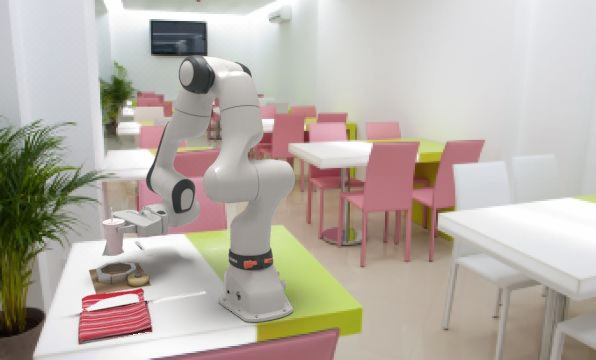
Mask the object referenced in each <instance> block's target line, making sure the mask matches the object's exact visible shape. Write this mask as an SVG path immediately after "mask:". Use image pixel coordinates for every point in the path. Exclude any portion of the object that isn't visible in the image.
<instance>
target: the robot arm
mask: <svg viewBox="0 0 596 360" xmlns="http://www.w3.org/2000/svg"><path fill="white" fill-rule="evenodd" d="M178 79H179V82H180V87H179V90H178V93H177V96H176V99H175V105H174V109H173V111H172V113H173V114H172V116H171V118H170V120H169V121H167V123H166V125H165V126H164V128H163V132H162V134H161V137H160V141H159V143H158V146H157V150H156V154H155V157H154V160H153V162H152V164H151V166H150V167H149V170H148V171H147V173H146V178H145V184H146V186H147V188H148V190H149V191H151V193H154V194H156V195H159V196H160V197H161V198H162V201H161V202H159V203H153V204H148V205H145V206H143V207H142V208H141V210H140V211H138V210H135V209H123V210H118V211H113V219H123V220H125V225H124V227H123V226H121V227H117V228H116V230H117V233H119V234H123V235H124V234H135V235H138V236H139V237H142V238H150V237H156V236H160V235H161V236H167V235H169V232H170V231H169V230H170V229H171V228H172V229H173V228H179V227H180V228H181V227H182V226H186V225H188V224H189V225H190V224H191V223H193V222H195V221H196V220H197V219H198V218H199V216H200V213H201V206H200V203H199V201H198V200H197V198H196V185H195V183H194V182H193V180H191V179H190V178H189V177H187V176H185V175H184V174H182V173H180V172H179V171H177V170H176V168H175V166H174V163H175V158H176V155H177V154H178V153H177V152H178V149H179V146H180V144H181V143H182V142H183V141H184V140H194V139H197V138H200V137H202V136H203V135H204V134H205V133H206V132H207V131H208V127H209V124H210V121H211V115H212V112H213V111H212V110H213V105H214V101H215V100H216V99H217V100H218V107H219V116H220V123H221V134H222V135H221V136H222V142H221V148H220V151H219V154H218V156H217V158H216V159H215V161H214V162H213V163H212V164H211V165H210V166H209V167H208V168H207V169H206V171H205V172H204V175H203V178H202V187H203V188H202V189H203V191H204V194H205V195H206V197H207V198H208V199H209V200H210V201H211V202H212V203H219V204H237V203H245V202H247V205H245V208H244V209H243V210H242V211H241V212H240V213H238V214H237V215H236V216H234V217H233V219H232V220H231V222H230V226H229V227H230V228H229V230H230V231H229V232H230V233H229V235H230V237H229V240H230V241H229V242H230V243H229V245H230V248H229V249H228V256H227V257H228V263H229V264H228V266H227V268H226V270H225V271H224V273H223V289H222V290H223V291H222V295H220V296H219V297H218V304H219V305H221V306H222V307H224V308H225V309H227V310H228V309H229V312H231V311H232V312H231V313H232V314H234V315H235V316H237V317H238V316H239V318H240V319H241V320H243V321H244V322H249V323H257V322H258V323H259V322H268V321H271V320H272V321H273V320H275V319H280V318H283V317H287V316H288V315H290V314H292V313H293V312H294V308H293V305H292V303H291V301H289V299H288V297H287V296H286V294H285V289H286V288H287V281H286V280H284V279H282V280H281V278H280V271H277V270H276V269H277V268H275V264H274V258H273V257H274V254H273V250H272V248H271V236H272V235H271V232H272V224H273V219H274V215H275V213H276V211H277V209H278V207H279V205H280V204H281V202H282V201H283V200H284V199H285V198H286V197H287V196H288V195H289V194H291V192H292V191H293V188H294V187H295V183H296V177H295V176H296V174H295V171H294V169H293V167H292V165H291V164H290V163H289V162H288V161H285V160H280V159H275V158H274V159H273V158H269V159H266V158H265V159H254V160H252V159H251V160H249V150H251V149H252V148H253V147H255V146H257V145H258V144H259V143H260V142H261V141H262V140H263V137H264V126H263V117H262V110H261V105H260V100H259V95H258V91H257V88H256V86H255V82H254V80H253V76H252V72H251V69H250V68H249V67H248V66H246V65H244V64H243V63H241V62H238V61H232V60H228V59H224V58H221V57H215V56H205V55H204V56H203V55H199V54H195V55H188V56H186V57H185V58H184V59H183V61H182V62H181V63H180V66H179V69H178ZM109 219H111V213H110V218H109Z"/></svg>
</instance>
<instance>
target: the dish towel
mask: <svg viewBox="0 0 596 360" xmlns="http://www.w3.org/2000/svg"><path fill="white" fill-rule="evenodd" d="M144 293H145V290H144V289H143V287H139V288H135V289H130V290H122V291H116V292H110V293H104V294H96V293H95V294H89V295H86V296H84V297H82V298H81V309H82V310H81V312H80V313H79V319H78V320H79V321H78V342H79V343H80V344H88V343H94V342H100V341H106V340H114V339H119V338H118V337H121V338H125V337H124V336H127V337H129V336H128V335H133V334H138V333H145V332H152V333H153V326H152V325H153V324H152V318H151V313H150V309H149V305H148V300H147V299H146V300H145V297H144ZM124 295H136V296H137V299H138V301H135V302H131V303H125V304H120V305H115V306H110V307H104V308H98V309H93V310H88V308H90V307H92V306H94V305H96V304H97V303H99V302H101V301H104V300H108V299H110V298H111V299H113V298H116V297H120V296H121V297H122V296H124ZM151 324H152V325H151ZM145 334H146V333H145ZM113 338H114V339H113Z"/></svg>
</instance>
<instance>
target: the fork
mask: <svg viewBox="0 0 596 360" xmlns="http://www.w3.org/2000/svg"><path fill="white" fill-rule="evenodd" d="M135 241H136V242H135ZM135 241H134V243H135V245H137V246H138V247H140V248H141V249H142V251H145V250H146V249H145V248H144V246H143V245H142V244H141V242H140V241H138V240H135ZM149 256H152V255H151V254H149V255H147V257H149Z"/></svg>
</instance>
